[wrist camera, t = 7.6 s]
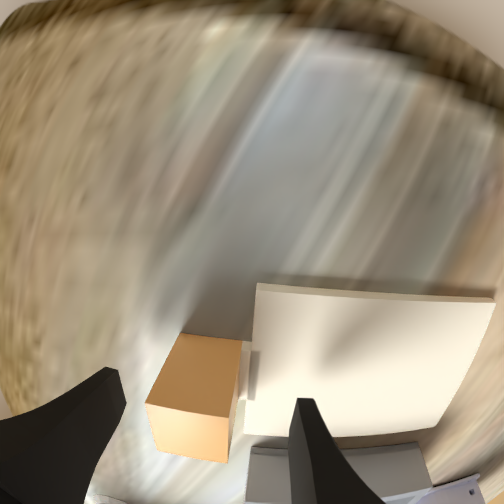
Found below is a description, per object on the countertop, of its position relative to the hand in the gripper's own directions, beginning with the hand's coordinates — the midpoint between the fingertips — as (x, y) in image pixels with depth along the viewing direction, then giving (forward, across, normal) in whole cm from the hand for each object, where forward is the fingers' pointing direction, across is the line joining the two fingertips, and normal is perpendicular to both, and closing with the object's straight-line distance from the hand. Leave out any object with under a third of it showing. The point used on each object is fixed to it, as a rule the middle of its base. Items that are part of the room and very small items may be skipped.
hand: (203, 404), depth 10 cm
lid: (+3, -6, 0) cm, 6 cm away
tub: (+3, -8, +10) cm, 13 cm away
